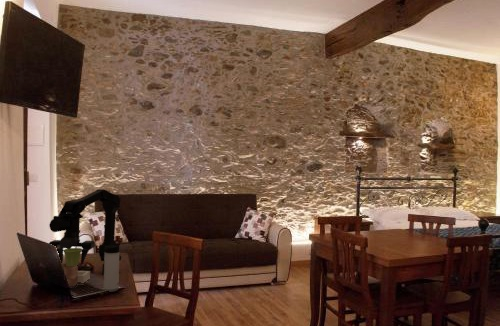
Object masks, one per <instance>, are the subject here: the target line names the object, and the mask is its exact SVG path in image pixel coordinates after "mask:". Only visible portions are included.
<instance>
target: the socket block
mask: <svg viewBox="0 0 500 326" xmlns="http://www.w3.org/2000/svg"><path fill="white" fill-rule="evenodd" d="M90 278H91V270H78V277H77V282H81V283H84V282H85V281H87V280H88V279H90ZM90 280H91V279H90ZM87 282H88V281H87Z"/></svg>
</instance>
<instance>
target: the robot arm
mask: <svg viewBox="0 0 500 326" xmlns="http://www.w3.org/2000/svg"><path fill="white" fill-rule="evenodd" d="M97 201H98V202H101V203H102V209H103V210H104V213H105V215H104V231H103V242H102V243H101V244H99V245H98V252H97V253H98V255H99V258H100V261H101V262H104V255H105V246H107V245H110V244H116V241H115V233H116V219H117V218H116V216H117V215H116V213H117V212H118V210H119V208H120V205H121V197H119V195H117V194H114V193H112V192H109V191H108V190H106V189H104V188H103V189H102V188H99V189H96V190H95V191H92V192H90V193H89V194H86V195H84V196H82V197H80V198H75V199H70V200H66V201H65V202H64V204H63V207H62V208H61V209H60V212H59V213H58V215H54V216H53V217H52V219H51V220H50V222H49V226H48V227H49V229H50V231H51V232H53V233H58V232H64V233H63V236H62V237H61V239H54V240H51V241H50V242H49V243H48V245H49V244H52V245H54V246H56V248H57V251H58V253H59V257H60V260H61V263H62V264H63V262H64V261H63V260H64V251H63V250H64V249H70V248H81V249H82V250H81V255H80V259H81V260H80V264H81V265H83V264H84V262H85V260H86V257H87V255H88V253H89V251H90V250H92V249H93V248H95V247H96V242H95V240H85V241H83V242H81V239H80V233H81V229H80V226H81V224H80V222H81V220H80V219H83V218H84V216H83V215H82V214H81V213H83V212H84V211H85V209H86V208H87V207H88V206H90V205H92V204H93V203H96V202H97ZM121 260H122V256H121V254H119V262H121ZM101 268H102V273H101V274H102V275H103V276H104V263H103V264H102V267H101Z"/></svg>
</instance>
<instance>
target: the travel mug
mask: <svg viewBox="0 0 500 326" xmlns="http://www.w3.org/2000/svg"><path fill="white" fill-rule="evenodd" d="M120 246H121V244H120V243H115V244H110V245H107V246H105V255H104V261H103V264H104V275H103V291H104V290H106V291H109V292H111V293H112V292H116V291H118V290H119V283H120V282H119V279H120V278H119V277H120V261H119V255H120ZM106 291H105V292H106ZM109 292H108V293H109Z"/></svg>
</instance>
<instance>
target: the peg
mask: <svg viewBox="0 0 500 326" xmlns="http://www.w3.org/2000/svg"><path fill="white" fill-rule="evenodd" d="M78 266H79V265H78ZM78 266H68V267H67V266H66V267H64V276H65V275H66V278H67V281H68V284H69V286H74V285H76V284H77V277H78V271H79V270H78V269H79V267H78ZM77 285H78V284H77Z"/></svg>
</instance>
